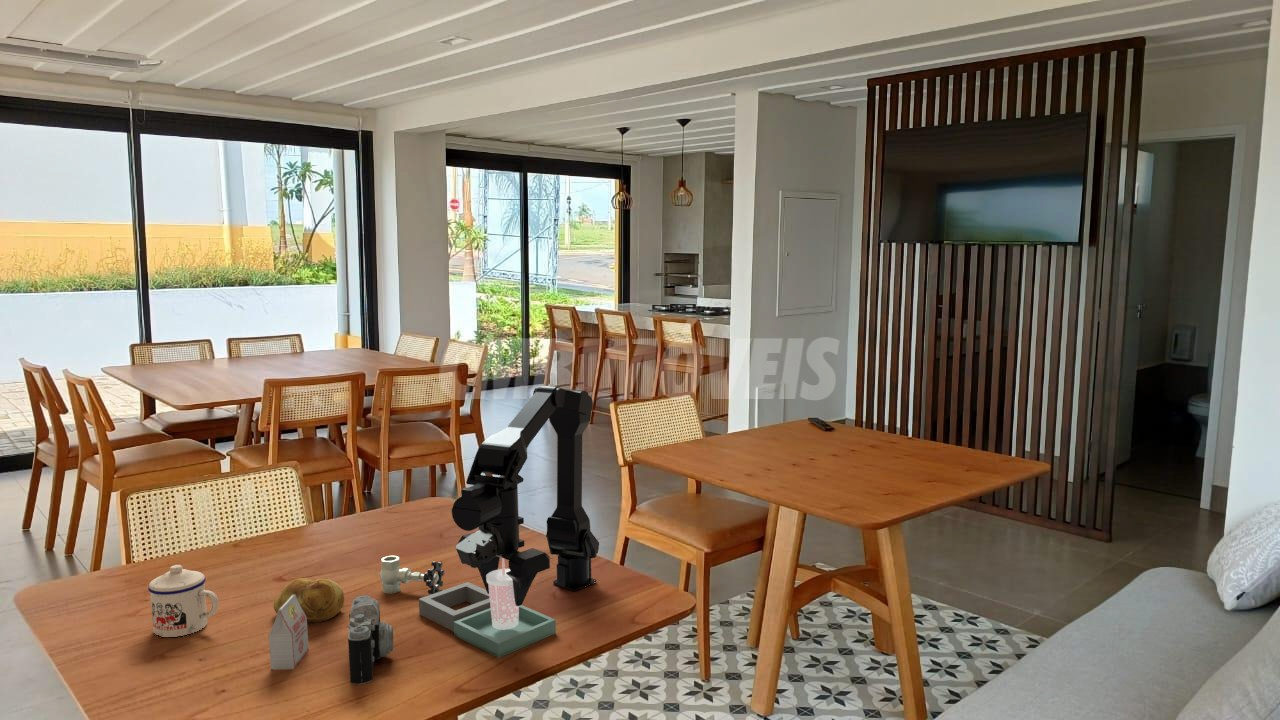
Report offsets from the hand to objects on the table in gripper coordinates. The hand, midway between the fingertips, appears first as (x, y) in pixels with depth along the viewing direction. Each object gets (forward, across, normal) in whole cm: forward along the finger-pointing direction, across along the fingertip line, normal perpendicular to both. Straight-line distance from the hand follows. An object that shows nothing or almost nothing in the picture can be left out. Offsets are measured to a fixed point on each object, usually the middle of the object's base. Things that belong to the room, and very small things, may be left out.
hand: (504, 599), depth 155 cm
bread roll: (+7, -34, -19) cm, 39 cm away
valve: (+7, -29, -1) cm, 30 cm away
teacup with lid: (+6, -44, -37) cm, 58 cm away
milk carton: (+7, -19, -30) cm, 36 cm away
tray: (+6, 0, 0) cm, 6 cm away
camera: (+7, -8, -21) cm, 24 cm away
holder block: (+6, -13, 0) cm, 14 cm away
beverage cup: (+5, 0, 0) cm, 5 cm away
